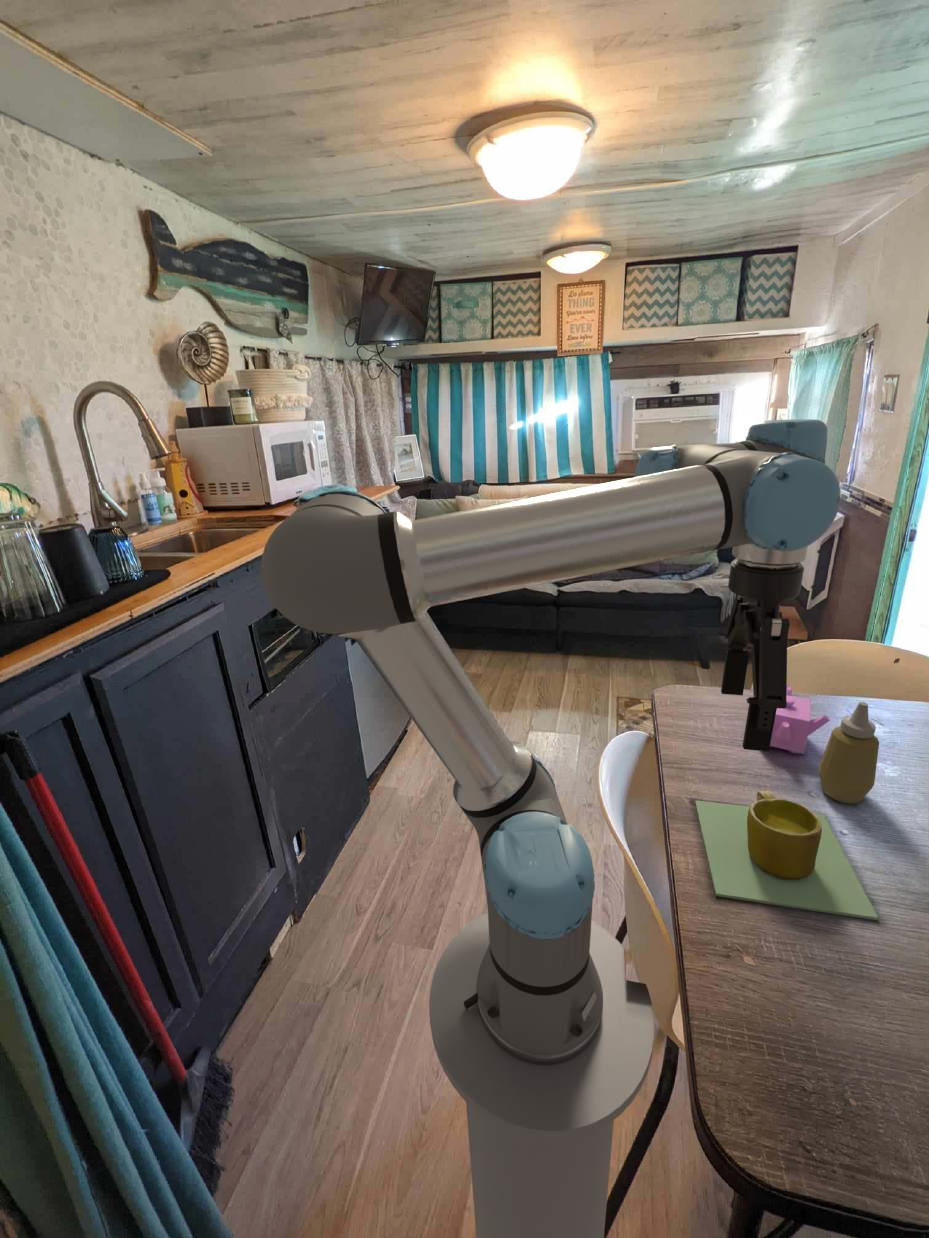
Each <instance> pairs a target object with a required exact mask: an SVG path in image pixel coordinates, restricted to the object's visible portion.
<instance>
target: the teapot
mask: <svg viewBox="0 0 929 1238" xmlns="http://www.w3.org/2000/svg"><path fill="white" fill-rule="evenodd" d="M792 691H793V687H792V685H790V684H787V696H786V702H787V705H786V708H785V709H781V708H777V710H776V716H775V721H774V727H773V732H772V738H771V743H770V748H772V747H773V748H778V749H782V750H786V751H788V752H789V753H791V754H795V755H798V754H805V750H806V745H807V741H808V737H809V736H810V735H812V734H813V733H815V732H816V731H817V730H819V729H820V728H822V727H823V726H824V725H826V724H827V723H829V722H830V721H831V718H830V717H829V716H827V715H824V714H822V715H821V716H817V717H815V718H813V719H811V711H812V710H811V708H812V707H811V705H812V704H811V703H812V701H811V699H810V698H804V697H799V696H793V694H792V693H793V692H792Z"/></svg>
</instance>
